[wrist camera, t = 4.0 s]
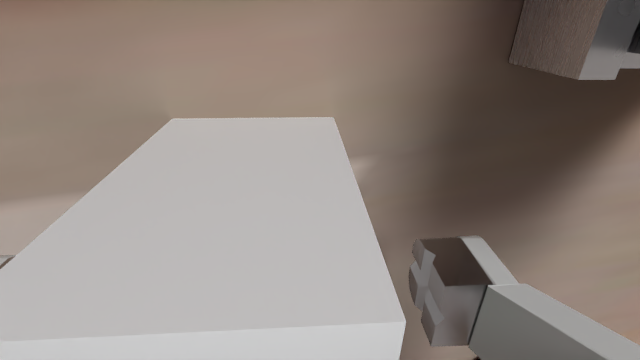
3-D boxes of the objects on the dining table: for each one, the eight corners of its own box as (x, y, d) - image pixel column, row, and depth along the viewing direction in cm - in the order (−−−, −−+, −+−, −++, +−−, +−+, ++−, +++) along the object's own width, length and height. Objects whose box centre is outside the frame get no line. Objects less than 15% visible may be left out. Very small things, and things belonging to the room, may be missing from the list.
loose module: (331, 293, 13) (366, 566, 6) (209, 299, 12) (121, 590, 6) (338, 116, 9) (421, 320, 3) (172, 117, 9) (-87, 346, 3)
